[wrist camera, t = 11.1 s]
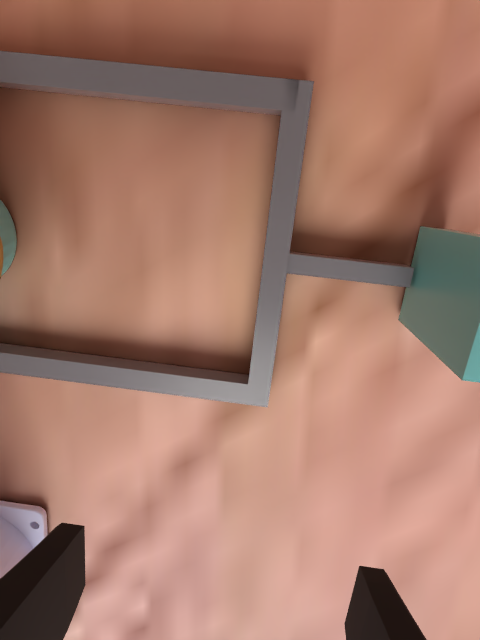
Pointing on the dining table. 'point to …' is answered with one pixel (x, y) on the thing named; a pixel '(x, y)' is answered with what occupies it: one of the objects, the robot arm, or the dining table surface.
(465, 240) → the frame with teal handle
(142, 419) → the dining table surface
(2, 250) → the cupcake
